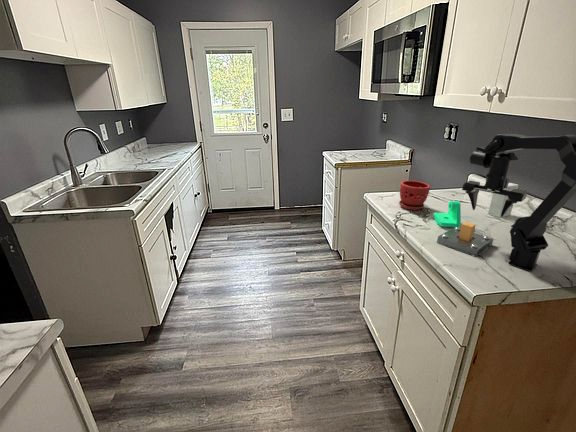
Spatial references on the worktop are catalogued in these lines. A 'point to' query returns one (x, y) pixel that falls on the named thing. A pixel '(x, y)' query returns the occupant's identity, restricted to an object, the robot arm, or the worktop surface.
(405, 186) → the plant pot
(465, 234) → the tan square peg
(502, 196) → the skincare box
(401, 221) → the worktop surface
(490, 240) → the grey square hole plate
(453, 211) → the camera mount
